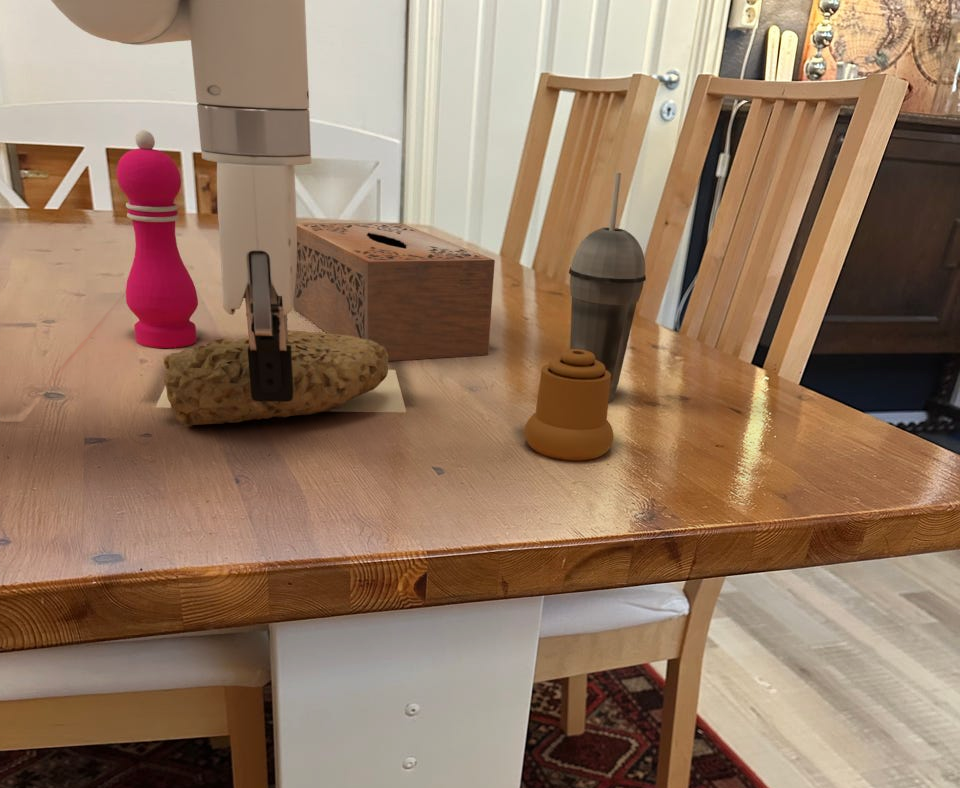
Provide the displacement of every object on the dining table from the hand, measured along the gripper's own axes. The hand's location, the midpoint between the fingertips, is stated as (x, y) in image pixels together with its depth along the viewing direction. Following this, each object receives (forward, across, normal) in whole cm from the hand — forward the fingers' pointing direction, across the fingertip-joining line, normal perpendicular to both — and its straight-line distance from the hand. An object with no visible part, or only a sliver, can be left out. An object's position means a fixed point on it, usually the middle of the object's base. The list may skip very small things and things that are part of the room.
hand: (272, 397), depth 74 cm
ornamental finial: (+4, 0, +24) cm, 25 cm away
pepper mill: (+4, -31, -13) cm, 34 cm away
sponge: (+4, -8, 0) cm, 9 cm away
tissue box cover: (+4, -39, +11) cm, 41 cm away
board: (+4, -15, 0) cm, 16 cm away
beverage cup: (+4, -15, +30) cm, 34 cm away
